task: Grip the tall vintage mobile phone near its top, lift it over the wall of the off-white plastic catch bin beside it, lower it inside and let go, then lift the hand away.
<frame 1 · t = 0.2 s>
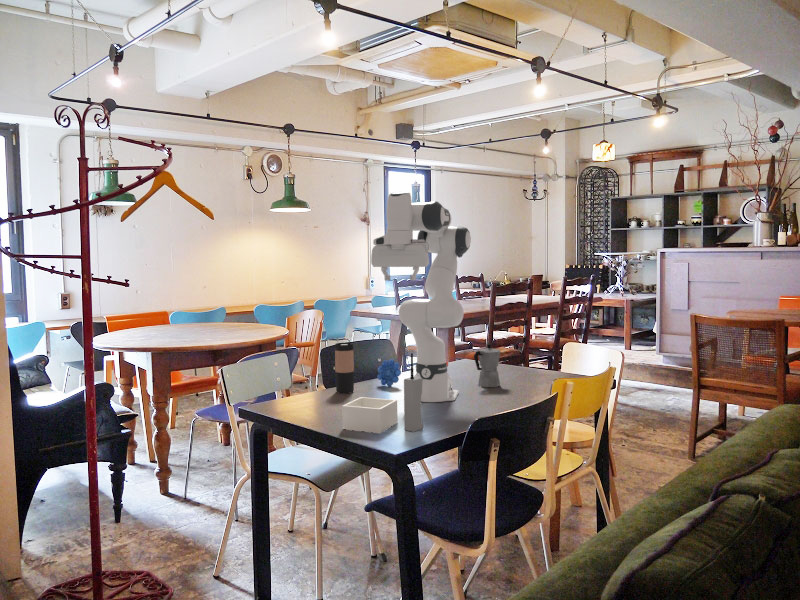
hand: (400, 280, 221), 48 cm above the table, tool pointing down, fingers open, 8 cm apart
travel mug: (345, 392, 269), on the table
grapes: (390, 386, 279), on the table
coffeepot: (487, 386, 277), on the table
catch bin: (370, 426, 214), on the table
vintage mobile phone: (413, 430, 210), on the table
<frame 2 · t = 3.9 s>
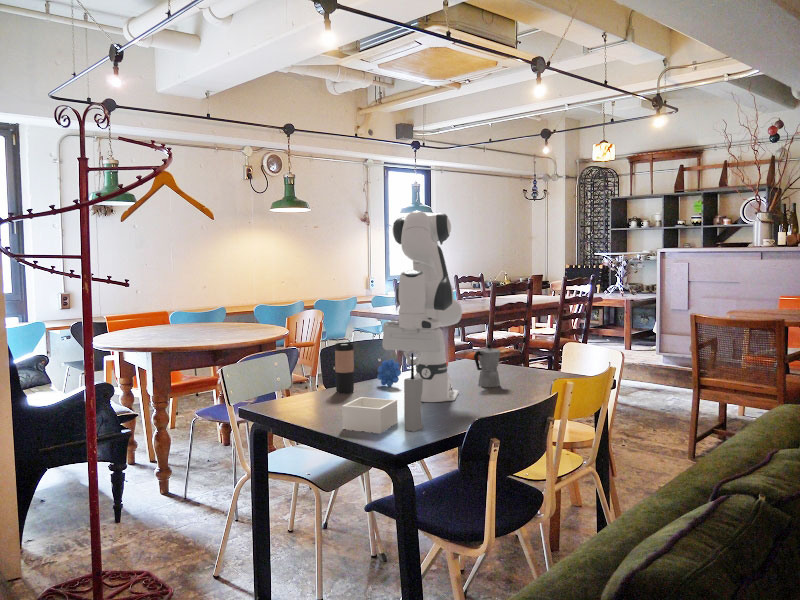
hand: (413, 364, 208), 21 cm above the table, tool pointing down, fingers closed on vintage mobile phone
vintage mobile phone: (413, 430, 210), on the table, touching gripper
everything else where it was.
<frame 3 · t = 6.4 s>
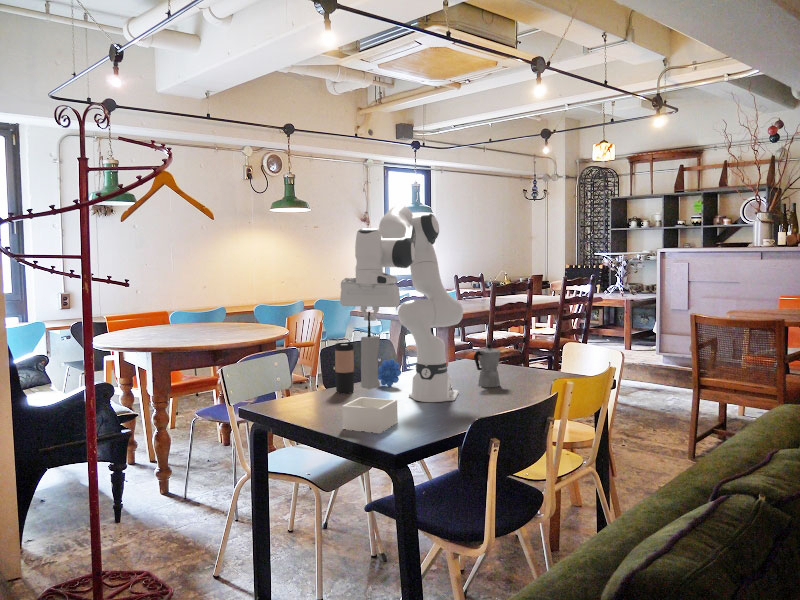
hand: (369, 320, 212), 35 cm above the table, tool pointing down, fingers closed on vintage mobile phone
vintage mobile phone: (370, 388, 213), point 13 cm above the table, touching gripper
everything else where it was.
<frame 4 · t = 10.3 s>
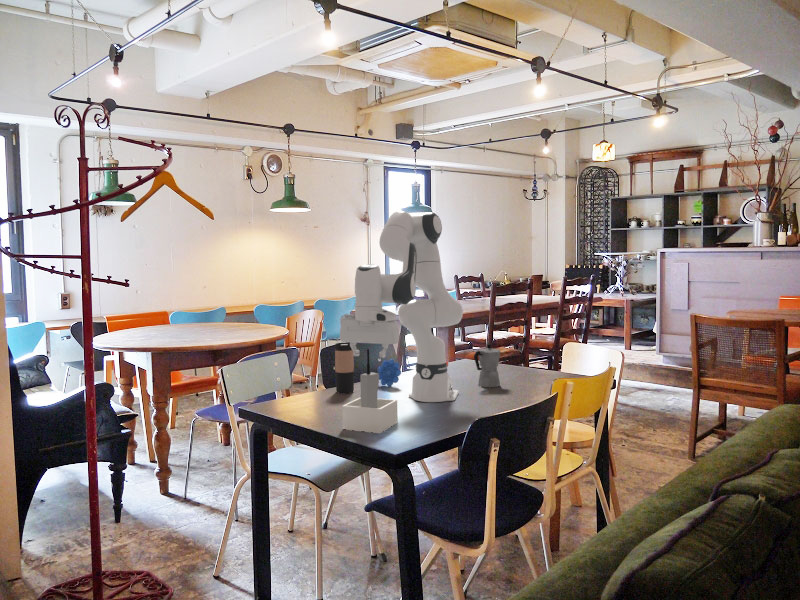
hand: (369, 356, 213), 23 cm above the table, tool pointing down, fingers open, 8 cm apart
vintage mobile phone: (370, 424, 214), point 1 cm above the table, touching catch bin
everything else where it was.
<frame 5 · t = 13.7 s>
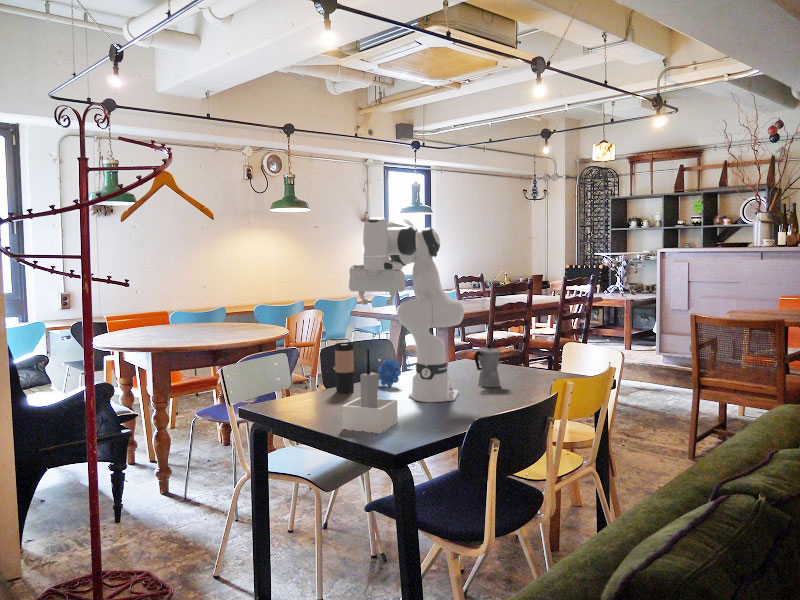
hand: (377, 304, 225), 39 cm above the table, tool pointing down, fingers open, 8 cm apart
nothing on the table moved.
at the end: vintage mobile phone inside the target area on the catch bin (0.4 cm from its centre), point 0.6 cm above the catch bin's base; the gripper is holding nothing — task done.
